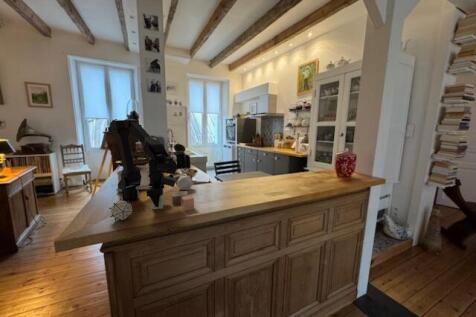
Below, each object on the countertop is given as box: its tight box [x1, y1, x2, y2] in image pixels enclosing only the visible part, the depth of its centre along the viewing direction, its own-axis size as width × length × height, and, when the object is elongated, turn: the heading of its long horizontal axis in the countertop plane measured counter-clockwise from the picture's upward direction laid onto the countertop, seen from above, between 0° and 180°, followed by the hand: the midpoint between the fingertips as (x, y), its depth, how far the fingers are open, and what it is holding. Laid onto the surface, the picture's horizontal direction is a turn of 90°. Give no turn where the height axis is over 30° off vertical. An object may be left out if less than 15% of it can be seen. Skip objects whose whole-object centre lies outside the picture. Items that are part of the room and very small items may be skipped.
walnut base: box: [171, 190, 189, 205], centre depth 99 cm, size 7×7×4 cm
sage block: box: [150, 194, 164, 210], centre depth 92 cm, size 4×4×5 cm
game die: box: [108, 197, 136, 223], centre depth 78 cm, size 9×8×10 cm
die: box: [175, 175, 194, 191], centre depth 117 cm, size 8×9×10 cm
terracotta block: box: [180, 195, 195, 212], centre depth 91 cm, size 4×4×5 cm
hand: (157, 204), depth 92 cm, fingers open, 5 cm apart
